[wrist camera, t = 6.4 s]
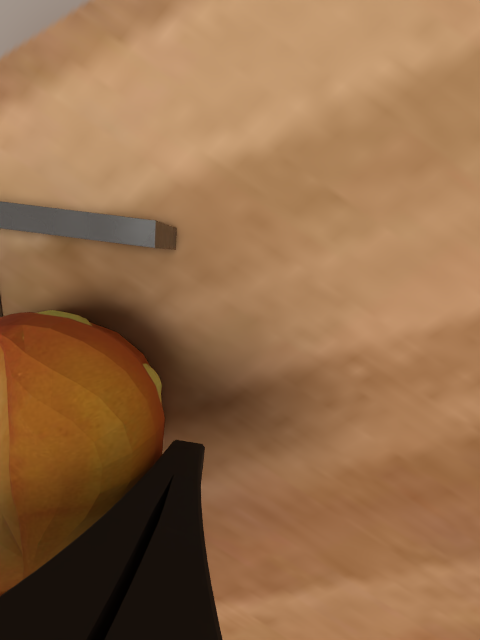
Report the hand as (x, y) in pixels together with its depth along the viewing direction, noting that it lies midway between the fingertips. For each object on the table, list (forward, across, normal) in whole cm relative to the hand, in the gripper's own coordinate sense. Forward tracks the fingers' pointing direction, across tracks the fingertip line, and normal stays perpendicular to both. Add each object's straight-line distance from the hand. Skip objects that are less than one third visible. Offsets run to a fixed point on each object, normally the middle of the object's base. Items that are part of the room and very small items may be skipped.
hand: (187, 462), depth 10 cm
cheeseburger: (+5, +7, 0) cm, 8 cm away
